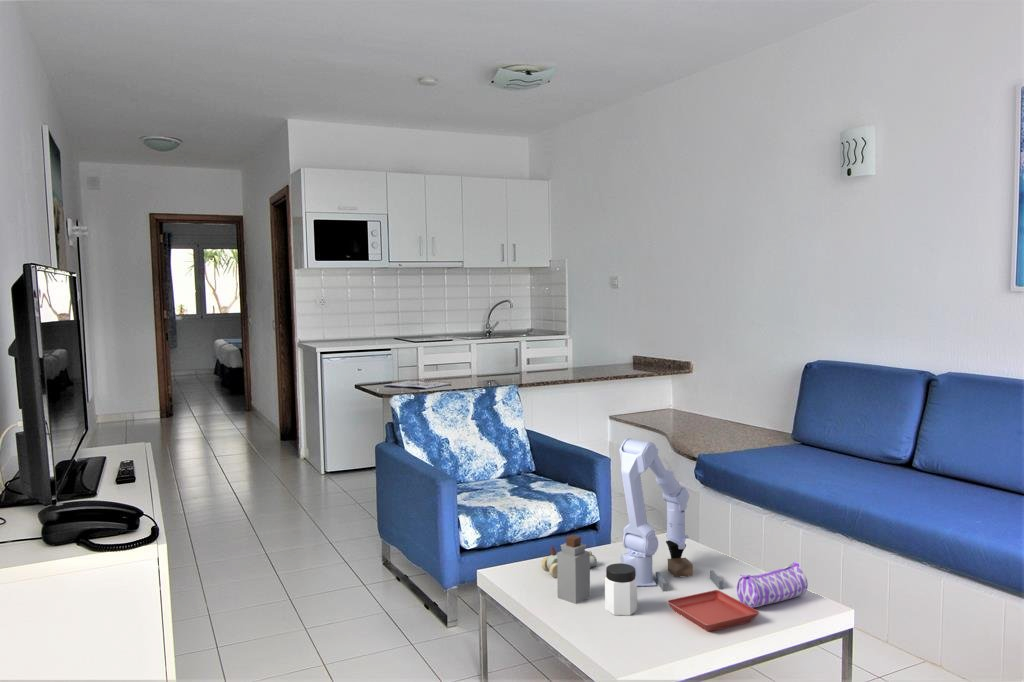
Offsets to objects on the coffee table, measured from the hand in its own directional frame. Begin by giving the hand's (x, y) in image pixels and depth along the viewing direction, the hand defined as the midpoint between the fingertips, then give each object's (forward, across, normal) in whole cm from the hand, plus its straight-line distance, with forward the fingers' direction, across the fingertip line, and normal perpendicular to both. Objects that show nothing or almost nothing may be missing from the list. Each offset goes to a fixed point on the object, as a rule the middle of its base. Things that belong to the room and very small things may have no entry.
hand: (675, 563), depth 250 cm
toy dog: (+2, +1, +35) cm, 35 cm away
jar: (+1, -31, +24) cm, 39 cm away
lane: (+1, -14, 0) cm, 15 cm away
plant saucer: (+2, -37, 0) cm, 37 cm away
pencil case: (+2, -28, -21) cm, 35 cm away
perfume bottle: (+2, -21, +36) cm, 42 cm away
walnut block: (+1, -5, 0) cm, 5 cm away
